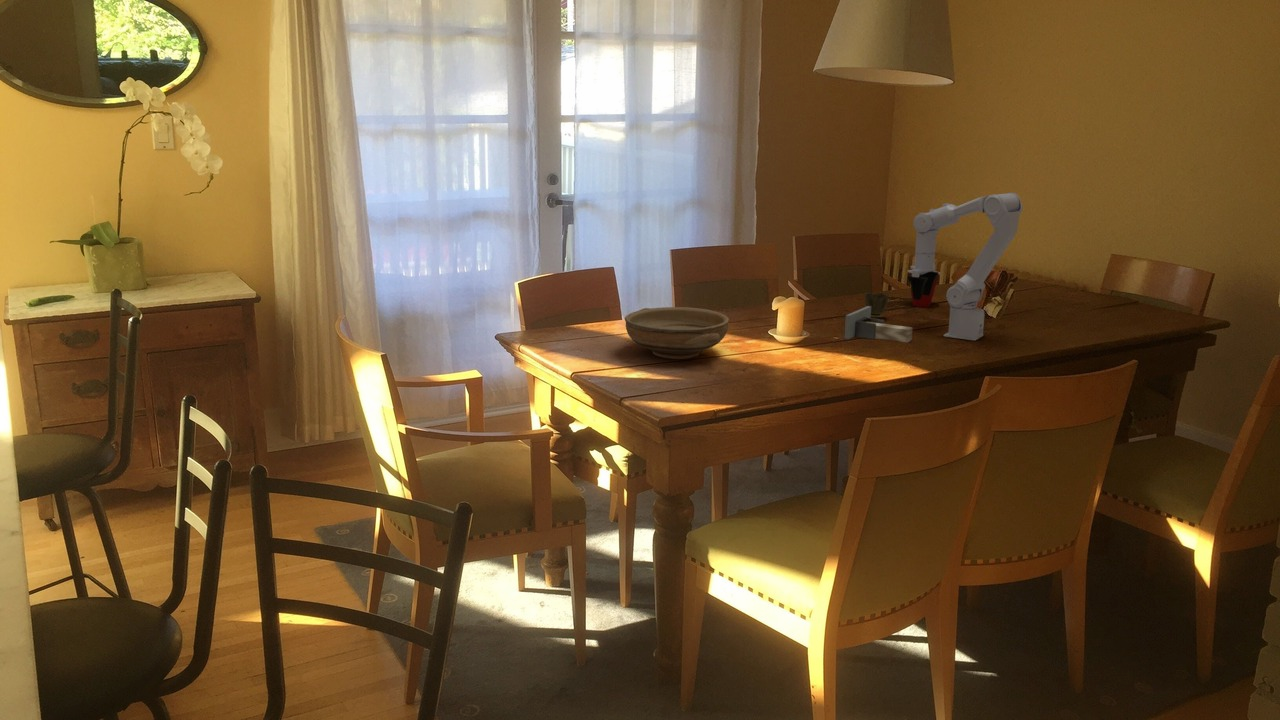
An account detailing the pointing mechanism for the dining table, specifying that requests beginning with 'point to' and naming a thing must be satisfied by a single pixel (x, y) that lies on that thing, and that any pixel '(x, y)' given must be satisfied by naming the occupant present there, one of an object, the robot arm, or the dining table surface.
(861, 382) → the dining table surface
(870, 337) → the bracket
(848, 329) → the backboard
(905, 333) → the rail
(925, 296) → the plastic cup
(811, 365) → the dining table surface
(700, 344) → the ceramic bowl
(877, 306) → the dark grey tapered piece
